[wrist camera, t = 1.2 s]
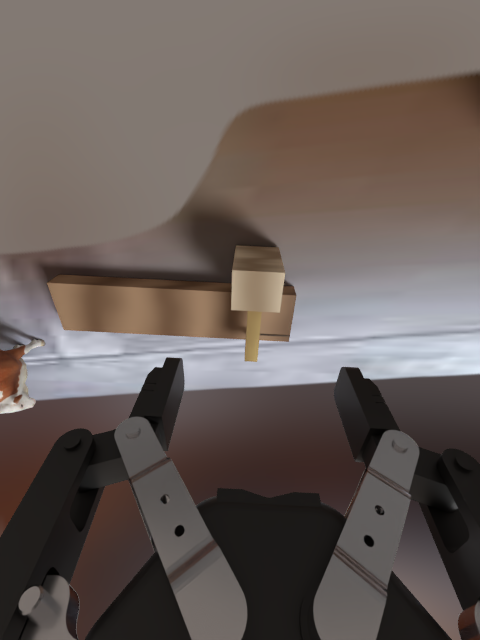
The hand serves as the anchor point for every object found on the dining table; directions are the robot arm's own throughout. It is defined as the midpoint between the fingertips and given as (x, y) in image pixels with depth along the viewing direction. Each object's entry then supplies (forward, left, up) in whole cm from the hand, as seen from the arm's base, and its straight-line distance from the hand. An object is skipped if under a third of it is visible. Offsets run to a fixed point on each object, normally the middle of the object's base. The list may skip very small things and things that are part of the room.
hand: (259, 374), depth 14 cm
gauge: (0, +3, -15) cm, 16 cm away
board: (+8, +5, -16) cm, 18 cm away
